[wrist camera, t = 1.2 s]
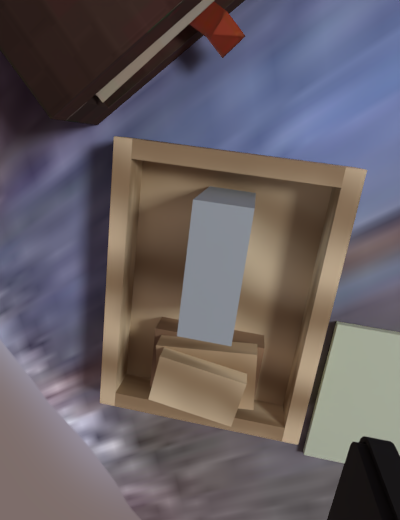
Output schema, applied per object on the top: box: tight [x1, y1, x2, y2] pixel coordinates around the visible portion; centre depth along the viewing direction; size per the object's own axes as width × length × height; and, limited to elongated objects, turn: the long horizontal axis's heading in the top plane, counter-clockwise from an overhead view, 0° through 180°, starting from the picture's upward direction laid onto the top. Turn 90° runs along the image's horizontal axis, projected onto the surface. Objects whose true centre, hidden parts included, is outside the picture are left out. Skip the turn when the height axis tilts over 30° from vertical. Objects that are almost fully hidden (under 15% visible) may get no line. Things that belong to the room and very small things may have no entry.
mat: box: [303, 321, 400, 463], centre depth 29 cm, size 12×8×1 cm, turn 173°
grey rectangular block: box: [177, 186, 256, 346], centre depth 24 cm, size 8×3×7 cm, turn 173°
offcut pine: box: [149, 347, 247, 427], centre depth 26 cm, size 4×6×1 cm, turn 75°
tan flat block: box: [150, 317, 265, 399], centre depth 29 cm, size 5×8×2 cm, turn 83°
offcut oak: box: [156, 335, 257, 410], centre depth 27 cm, size 4×7×2 cm, turn 89°
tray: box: [100, 136, 367, 445], centre depth 27 cm, size 20×15×3 cm
